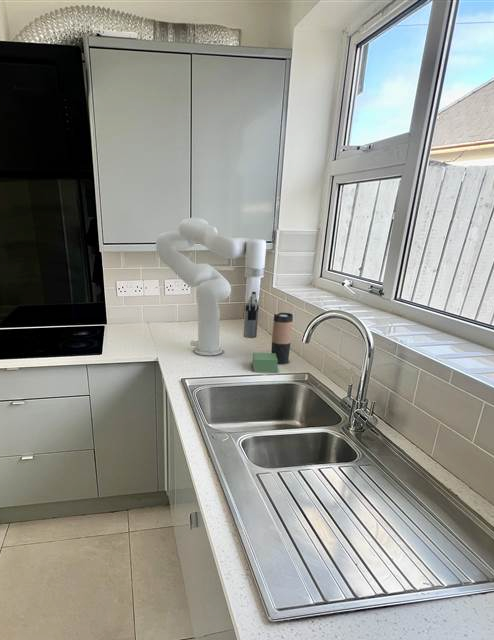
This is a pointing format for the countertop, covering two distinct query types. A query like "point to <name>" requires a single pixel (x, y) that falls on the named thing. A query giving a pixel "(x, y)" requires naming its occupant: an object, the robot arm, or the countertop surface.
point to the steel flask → (250, 324)
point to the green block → (265, 362)
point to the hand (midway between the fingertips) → (251, 317)
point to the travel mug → (282, 336)
